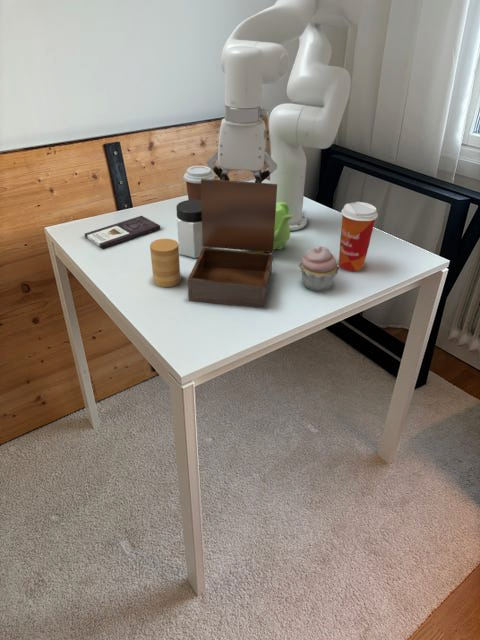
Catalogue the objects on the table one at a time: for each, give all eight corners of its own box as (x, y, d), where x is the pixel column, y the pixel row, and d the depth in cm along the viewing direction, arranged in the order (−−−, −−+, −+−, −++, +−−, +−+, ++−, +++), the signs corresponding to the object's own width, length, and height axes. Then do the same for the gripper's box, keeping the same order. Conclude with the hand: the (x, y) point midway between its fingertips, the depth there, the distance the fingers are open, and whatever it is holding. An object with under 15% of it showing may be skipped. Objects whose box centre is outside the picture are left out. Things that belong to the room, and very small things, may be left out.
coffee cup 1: (206, 201, 156) (205, 162, 149) (221, 211, 150) (220, 171, 143) (180, 206, 152) (177, 167, 146) (193, 217, 146) (191, 176, 139)
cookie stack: (160, 271, 120) (157, 236, 115) (184, 276, 118) (182, 241, 113) (148, 284, 115) (144, 248, 110) (173, 289, 114) (170, 253, 108)
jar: (187, 261, 125) (184, 215, 118) (171, 248, 130) (168, 203, 123) (218, 252, 129) (217, 207, 122) (202, 240, 134) (200, 196, 127)
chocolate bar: (160, 225, 139) (102, 245, 129) (160, 228, 139) (102, 248, 129) (141, 215, 144) (84, 233, 134) (141, 218, 145) (85, 236, 134)
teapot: (299, 238, 136) (303, 193, 129) (288, 262, 125) (292, 214, 118) (241, 230, 139) (242, 186, 132) (226, 253, 128) (226, 206, 121)
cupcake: (289, 278, 118) (292, 239, 113) (324, 272, 121) (329, 233, 115) (307, 298, 111) (312, 258, 106) (344, 291, 114) (351, 251, 108)
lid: (277, 185, 108) (279, 177, 112) (200, 179, 110) (206, 172, 114) (273, 252, 117) (275, 243, 121) (202, 246, 119) (207, 237, 123)
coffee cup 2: (327, 261, 126) (335, 203, 117) (355, 255, 128) (364, 198, 120) (346, 276, 119) (355, 217, 111) (375, 270, 122) (386, 212, 114)
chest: (264, 308, 108) (265, 287, 105) (188, 300, 110) (187, 279, 107) (271, 273, 120) (273, 253, 117) (203, 267, 122) (203, 247, 119)
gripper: (285, 112, 107) (280, 194, 117) (205, 108, 109) (207, 189, 119) (282, 121, 101) (277, 206, 111) (197, 116, 103) (200, 200, 113)
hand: (241, 196), depth 115 cm, fingers closed on lid, 6 cm apart
